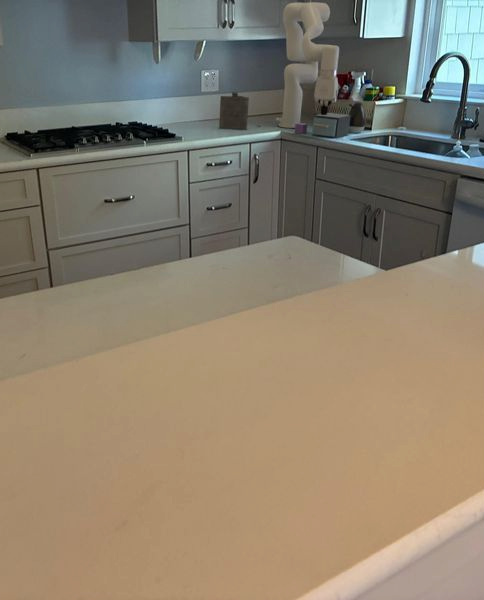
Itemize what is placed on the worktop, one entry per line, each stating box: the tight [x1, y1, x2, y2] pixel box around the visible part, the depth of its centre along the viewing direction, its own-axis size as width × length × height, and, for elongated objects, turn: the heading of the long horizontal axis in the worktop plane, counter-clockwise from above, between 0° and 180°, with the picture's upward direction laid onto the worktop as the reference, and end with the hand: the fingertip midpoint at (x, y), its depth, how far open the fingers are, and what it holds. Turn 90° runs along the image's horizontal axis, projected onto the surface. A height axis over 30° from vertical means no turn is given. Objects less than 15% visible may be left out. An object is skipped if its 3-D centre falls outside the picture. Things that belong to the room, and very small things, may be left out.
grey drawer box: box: [312, 112, 351, 139], centre depth 304 cm, size 15×13×10 cm
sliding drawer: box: [312, 117, 337, 137], centre depth 300 cm, size 18×11×8 cm, turn 144°
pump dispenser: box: [347, 101, 367, 134], centre depth 314 cm, size 10×10×15 cm
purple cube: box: [294, 122, 308, 135], centre depth 309 cm, size 4×4×4 cm
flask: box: [218, 91, 250, 131], centre depth 313 cm, size 4×14×18 cm, turn 81°
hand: (324, 114), depth 293 cm, fingers closed
